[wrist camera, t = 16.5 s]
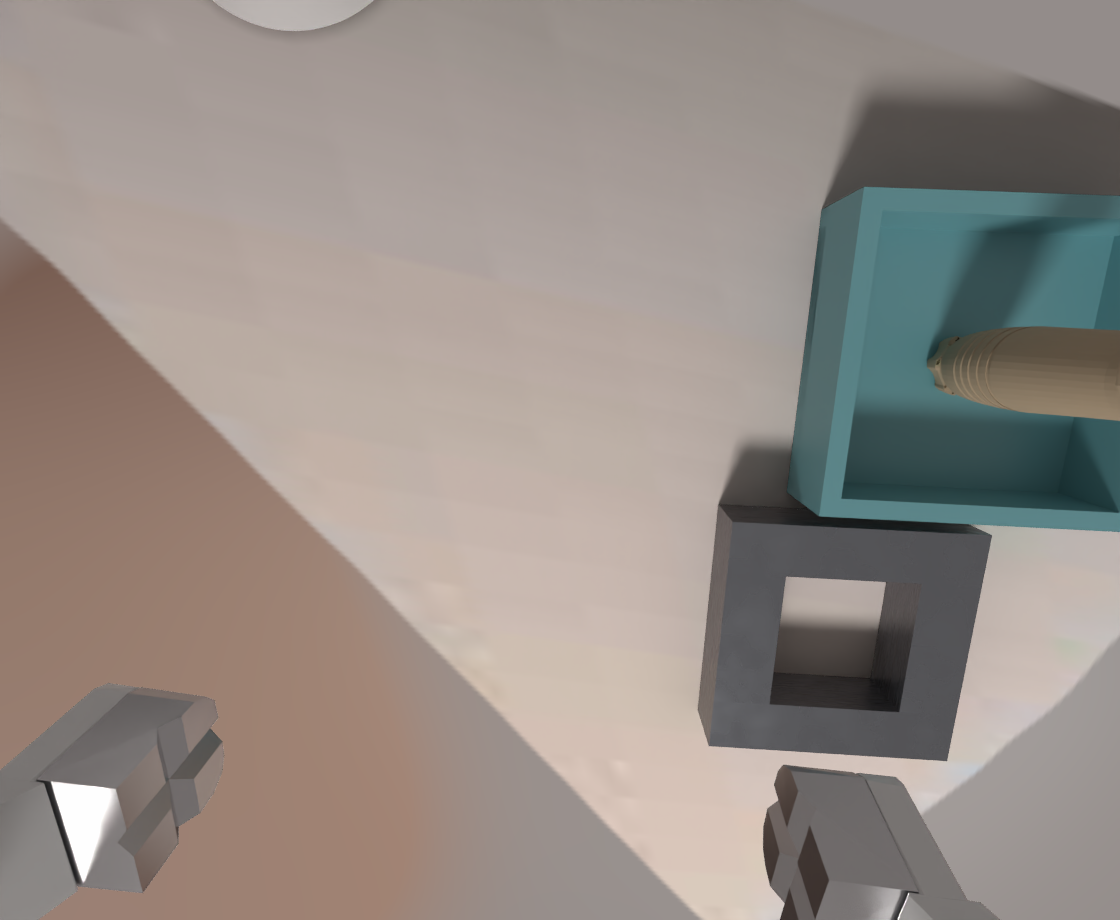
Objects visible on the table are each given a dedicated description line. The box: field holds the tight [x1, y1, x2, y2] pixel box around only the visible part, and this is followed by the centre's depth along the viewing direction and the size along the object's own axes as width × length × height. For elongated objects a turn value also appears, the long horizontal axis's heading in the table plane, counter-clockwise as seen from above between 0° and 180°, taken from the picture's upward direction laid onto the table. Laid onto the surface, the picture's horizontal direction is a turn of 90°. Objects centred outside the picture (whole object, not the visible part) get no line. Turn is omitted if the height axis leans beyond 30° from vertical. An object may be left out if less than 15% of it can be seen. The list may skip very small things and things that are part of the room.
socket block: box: [698, 505, 992, 761], centre depth 35 cm, size 14×14×4 cm
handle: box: [927, 326, 1120, 421], centre depth 25 cm, size 5×6×15 cm
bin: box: [787, 187, 1120, 532], centre depth 31 cm, size 16×16×5 cm
